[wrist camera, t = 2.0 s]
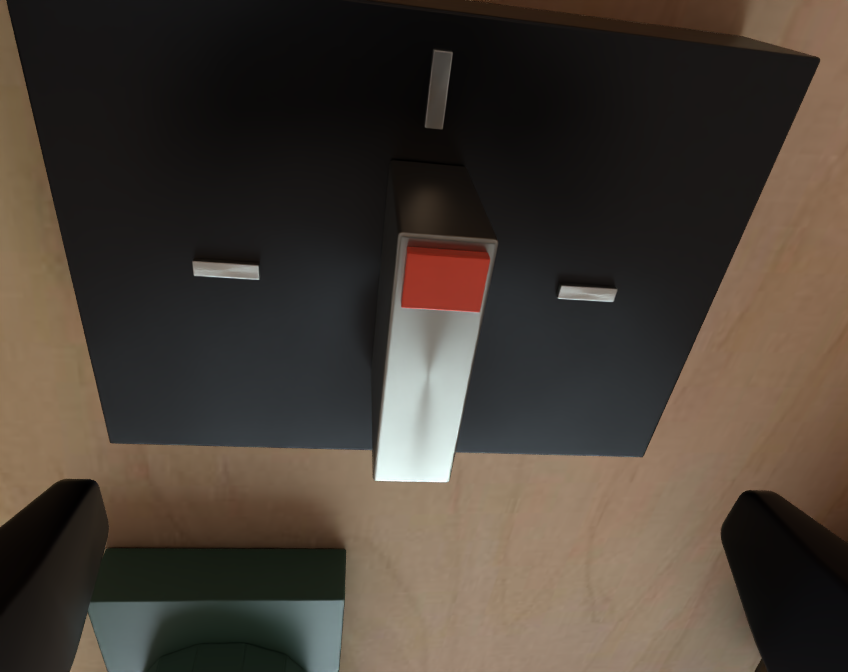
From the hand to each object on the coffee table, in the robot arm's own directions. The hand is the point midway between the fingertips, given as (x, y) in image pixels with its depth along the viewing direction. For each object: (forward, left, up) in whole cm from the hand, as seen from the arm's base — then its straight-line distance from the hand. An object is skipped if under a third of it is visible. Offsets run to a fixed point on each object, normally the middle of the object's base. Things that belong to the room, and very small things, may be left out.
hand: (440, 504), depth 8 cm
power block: (+13, -16, -10) cm, 23 cm away
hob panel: (0, 0, -10) cm, 10 cm away
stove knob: (0, 0, -6) cm, 6 cm away
